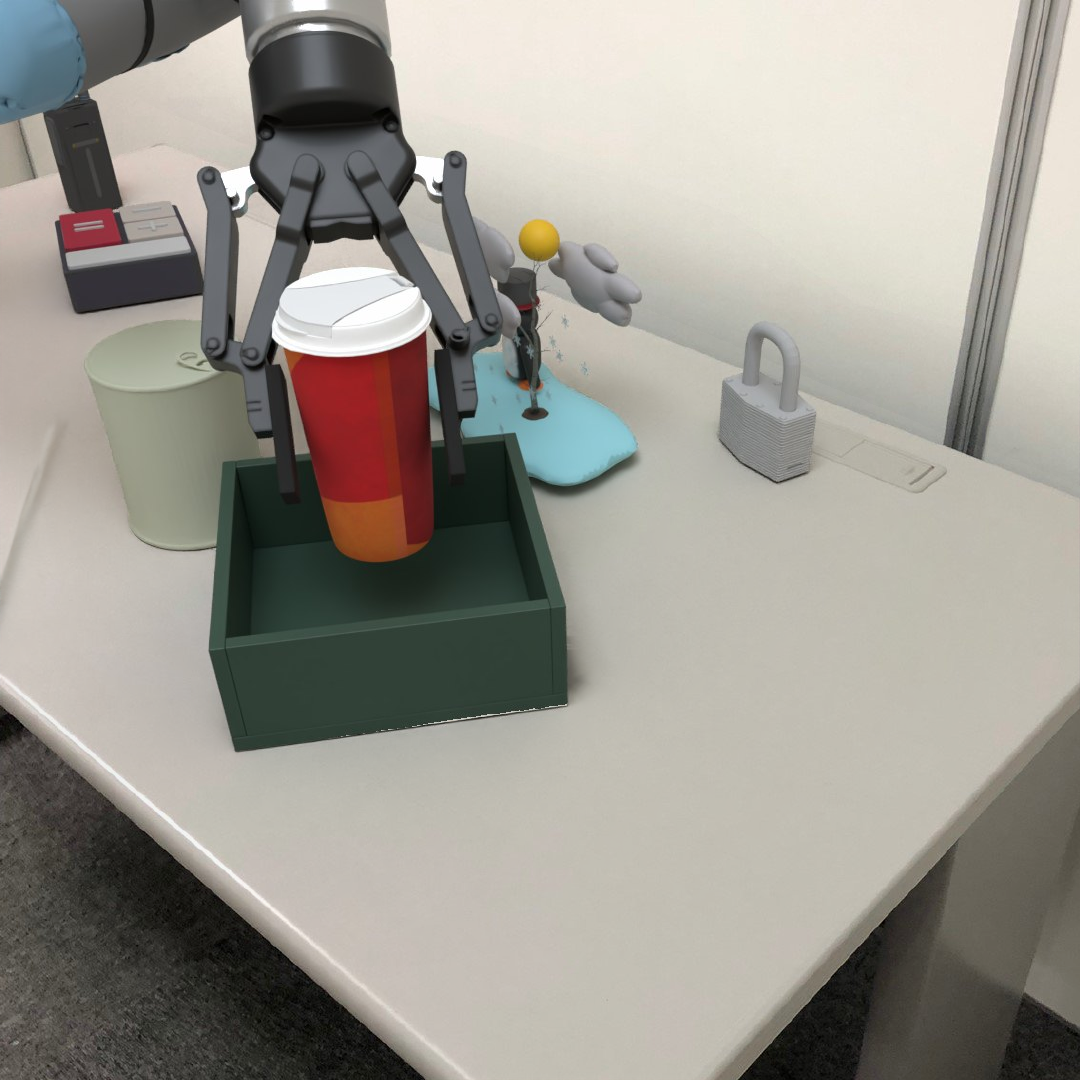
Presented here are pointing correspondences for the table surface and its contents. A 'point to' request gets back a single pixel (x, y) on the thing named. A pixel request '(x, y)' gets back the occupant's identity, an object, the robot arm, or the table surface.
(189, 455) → the can
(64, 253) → the calculator
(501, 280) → the blue and grey toy
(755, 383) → the padlock
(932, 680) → the table surface
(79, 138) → the walkie-talkie
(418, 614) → the bin
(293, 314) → the paper cup
